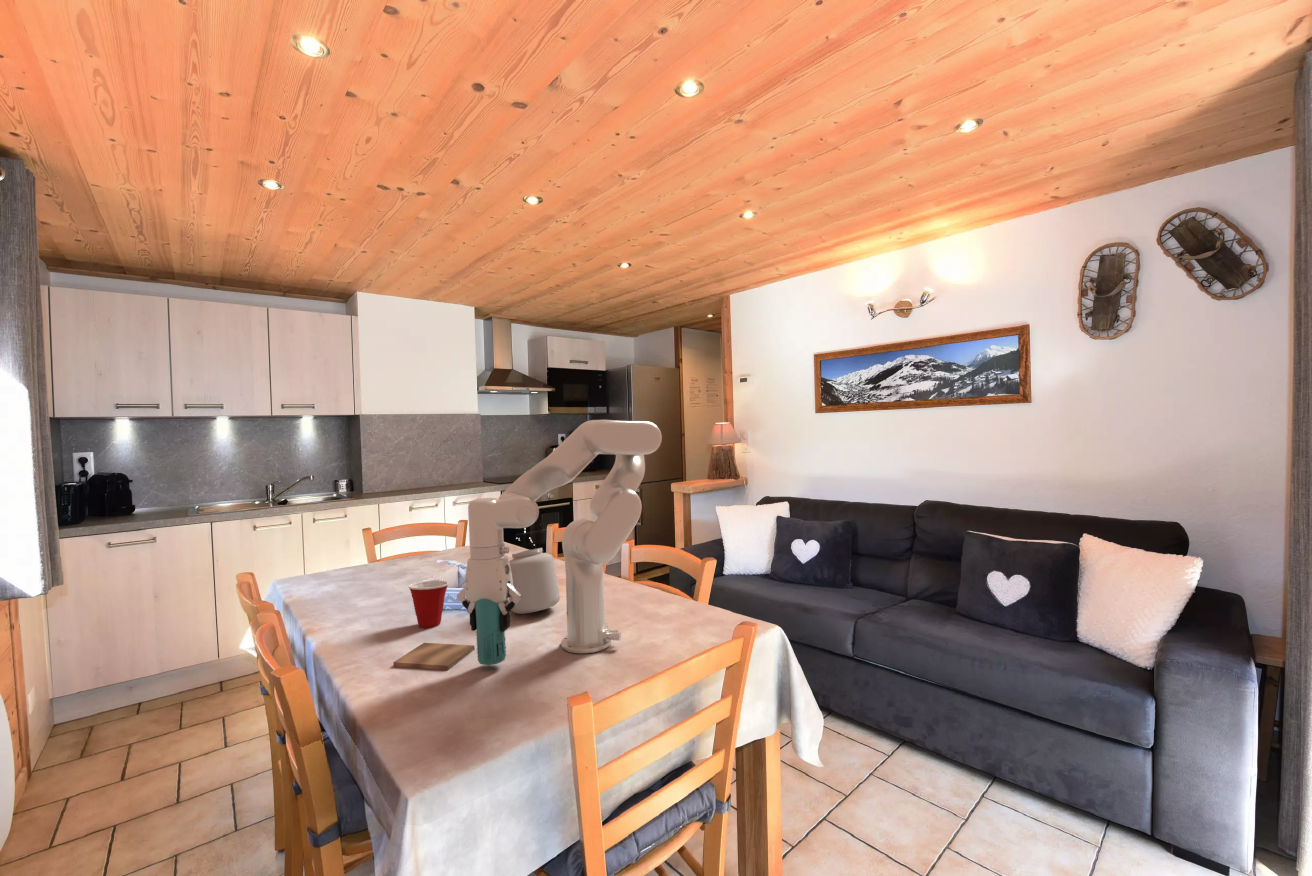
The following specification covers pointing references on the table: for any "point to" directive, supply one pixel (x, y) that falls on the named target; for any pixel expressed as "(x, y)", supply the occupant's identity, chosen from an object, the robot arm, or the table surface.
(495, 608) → the beverage bottle
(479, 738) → the table surface
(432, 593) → the plastic cup
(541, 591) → the jar
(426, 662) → the walnut board
